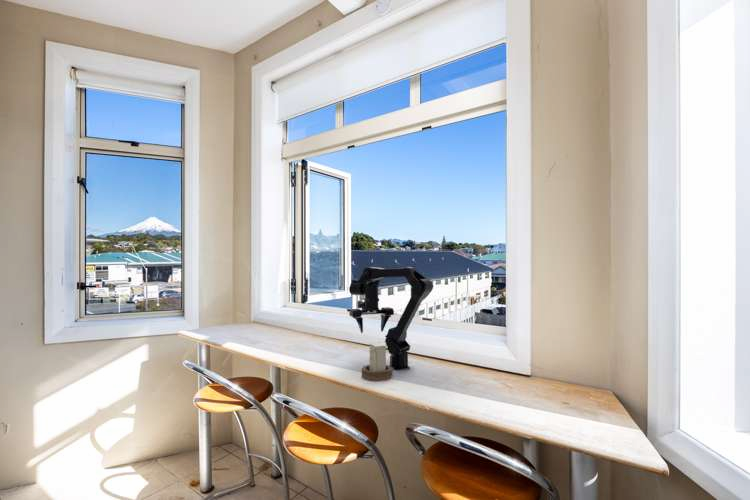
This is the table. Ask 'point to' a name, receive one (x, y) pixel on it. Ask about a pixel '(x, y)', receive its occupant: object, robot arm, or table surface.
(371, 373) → the walnut ring
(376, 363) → the skincare box
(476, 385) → the table surface
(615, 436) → the table surface
